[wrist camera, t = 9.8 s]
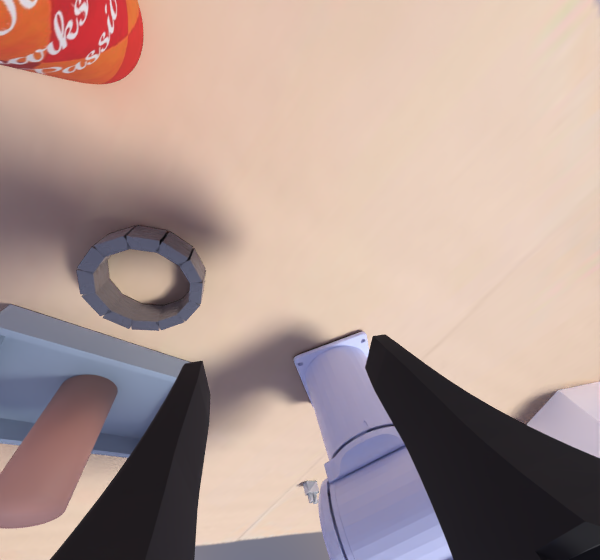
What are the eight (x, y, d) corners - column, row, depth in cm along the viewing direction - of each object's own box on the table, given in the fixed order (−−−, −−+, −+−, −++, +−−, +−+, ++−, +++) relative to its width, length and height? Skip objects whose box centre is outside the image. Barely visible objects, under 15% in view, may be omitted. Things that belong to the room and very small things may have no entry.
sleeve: (220, 295, 20) (218, 310, 18) (135, 324, 19) (125, 342, 18) (174, 212, 16) (167, 221, 14) (67, 246, 15) (47, 260, 14)
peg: (127, 396, 22) (81, 509, 15) (81, 411, 22) (14, 534, 15) (99, 368, 20) (31, 486, 13) (47, 384, 19) (-49, 515, 13)
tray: (204, 366, 23) (201, 384, 21) (145, 438, 26) (138, 458, 24) (10, 304, 16) (-15, 323, 15) (-39, 410, 19) (-64, 435, 18)
